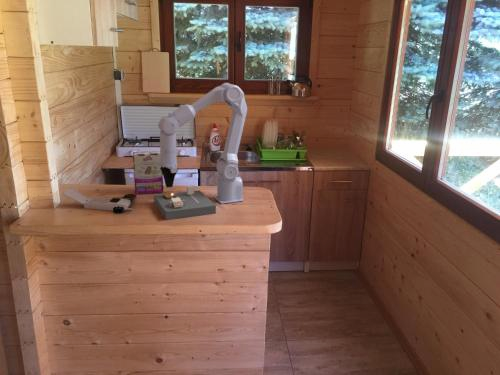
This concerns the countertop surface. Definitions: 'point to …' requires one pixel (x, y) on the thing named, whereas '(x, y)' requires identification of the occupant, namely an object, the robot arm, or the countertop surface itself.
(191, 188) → the tan rectangular block
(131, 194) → the countertop surface
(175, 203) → the rocker switch
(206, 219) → the countertop surface
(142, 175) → the candy bar box
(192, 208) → the panel
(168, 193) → the push button
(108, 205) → the white long dark-ended device
